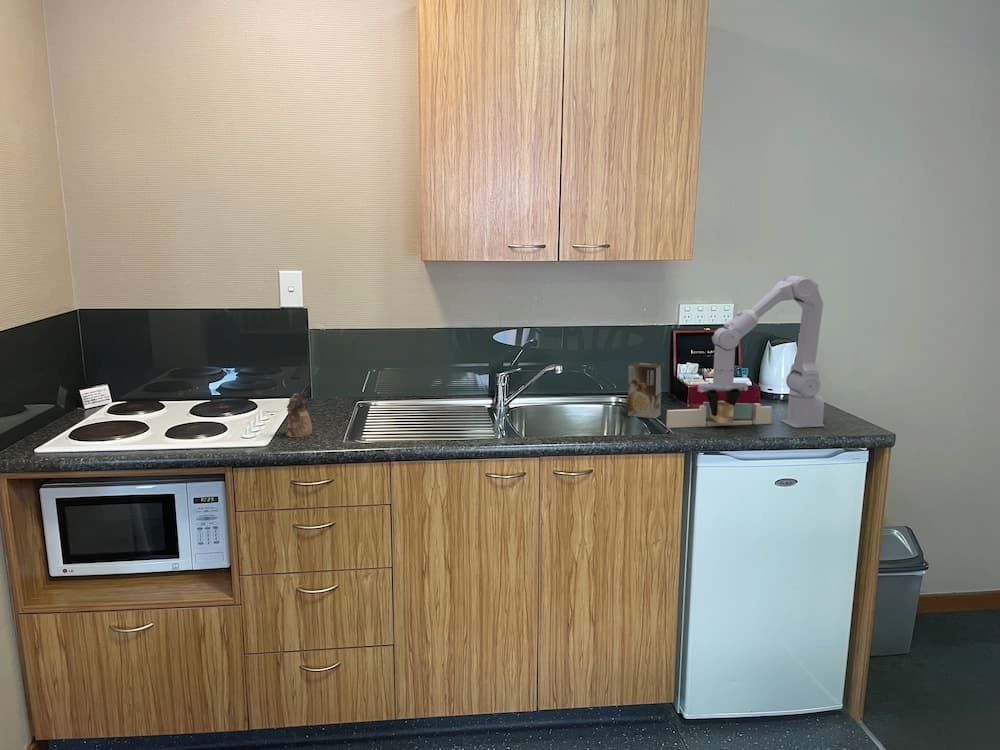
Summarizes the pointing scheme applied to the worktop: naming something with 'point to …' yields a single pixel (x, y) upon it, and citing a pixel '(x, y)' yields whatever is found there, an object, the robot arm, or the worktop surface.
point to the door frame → (699, 420)
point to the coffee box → (644, 390)
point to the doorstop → (723, 412)
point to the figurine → (298, 417)
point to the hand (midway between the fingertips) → (721, 414)
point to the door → (737, 410)
